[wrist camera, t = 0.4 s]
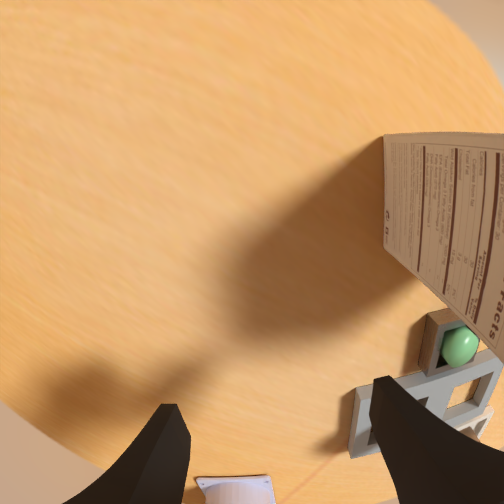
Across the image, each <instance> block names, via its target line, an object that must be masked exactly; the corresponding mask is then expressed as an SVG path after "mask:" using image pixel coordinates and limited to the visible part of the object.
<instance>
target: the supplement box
mask: <svg viewBox="0 0 504 504" xmlns="http://www.w3.org/2000/svg"><path fill="white" fill-rule="evenodd" d="M383 140H384V182H385V184H384V237H383V248H384V249H385V250H386V251H387V252H388V253H389V254H391V255H392V256H393V257H394V258H395V259H396V260H397V261H399V262H400V263H401V264H402V265H403V266H404V267H406V268H407V269H408V270H409V271H410V272H411V273H412V274H413V275H415V276H416V277H417V278H418V279H419V280H420V281H421V282H422V283H423V284H424V285H425V286H427V287H428V288H429V289H430V290H431V291H432V292H433V293H434V294H435V295H436V296H437V297H438V298H439V299H440V300H441V301H443V302H444V303H445V304H446V305H447V306H448V307H449V308H450V309H451V310H452V311H453V312H454V313H455V314H456V315H457V316H458V317H459V318H460V319H461V320H462V321H463V322H464V323H465V324H466V325H467V326H468V327H469V328H470V329H471V330H472V331H473V332H474V333H475V334H476V335H477V336H478V337H479V338H480V339H481V340H482V341H483V342H484V343H485V345H486V346H487V347H488V348H489V349H490V350H491V351H492V352H493V353H494V354H495V355H496V356H497V357H498V359H499V360H500V361H501V362H502V363H503V364H504V134H498V133H476V132H418V133H399V134H385V135H383Z"/></svg>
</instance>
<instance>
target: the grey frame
mask: <svg viewBox="0 0 504 504" xmlns="http://www.w3.org/2000/svg"><path fill="white" fill-rule="evenodd" d="M503 366H504V364H503V363H502V362H501V361H500V360H499V359H498V357H497V356H496V355H495V354H494V353H493V352H492V351H491V350H490V349H486V350H484V351H481V352H478V353H476V355H475V358H474V361H473V362H471V363H468V364H465V365H463V366H460V367H457V368H454V369H451V370H448V371H445V372H442V373H439V374H436V375H433V376H430V377H426V376H425V374H424V373H423V371H421V372H418V373H414V374H411V375H407V376H403V377H400V378H396V379H394V380H395V381H396V382H397V383H398V384H399V385H401V386H402V387H403V388H404V389H405V390H406V391H407V392H408V393H409V394H410V395H412V396H413V397H414V398H415V399H416V400H418V402H420V403H421V404H422V405H423V406H425V407H426V408H427V409H428V410H429V411H431V412H432V413H433V414H434V415H436V416H437V417H438V418H440V419H441V420H443V421H444V422H445V423H447V424H448V425H450V426H451V427H455V426H457V425H459V424H462V423H464V422H466V421H468V420H471V419H473V418H475V417H477V416H479V415H482V414H483V412H484V410H485V408H486V406H487V404H488V401H489V399H490V397H491V395H492V393H493V390H494V388H495V386H496V384H497V381H498V379H499V376H500V374H501V371H502V369H503ZM479 377H481V379H480V382H479V384H478V387H477V389H476V392H475V394H474V396H473V399H470V400H468V401H466V402H463V403H461V404H458V405H456V406H453V407H451V408H448V409H446V408H447V405H448V403H449V400H450V398H451V395H452V392H453V389H454V387H456V386H459V385H462V384H464V383H467V382H469V381H472V380H474V379H477V378H479ZM372 389H373V384H371V385H366V386H362V387H357V388H356V391H355V400H354V408H353V416H352V423H351V430H350V437H349V443H348V451H349V454H350V458H351V459H353V458H357V457H361V456H366V455H370V454H374V453H377V452H381V451H380V448H379V446H378V443H377V441H376V438H375V436H374V432H371V433H370V431H371V427H372V425H371V421H370V418H369V409H370V403H371V396H372Z"/></svg>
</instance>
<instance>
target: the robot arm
mask: <svg viewBox="0 0 504 504" xmlns="http://www.w3.org/2000/svg"><path fill="white" fill-rule="evenodd" d="M369 418H370V421H371V425H372V429H373V432H374V436H375V438H376V441H377V443H378V446H379V448H380V451H381V453H382V455H383V458H384V460H385V462H386V465H387V467H388V470H389V472H390V475H391V477H392V479H393V482H394V485H395V488H396V492H397V495H398V499H399V503H400V504H504V452H502V451H499V450H497V449H494V448H492V447H489V446H487V445H485V444H482V443H480V442H478V441H476V440H474V439H472V438H470V437H468V436H466V435H464V434H463V433H461V432H459V431H458V430H456V429H454V428H453V427H451V426H450V425H448V424H447V423H445V422H444V421H443V420H441V419H440V418H438V417H437V416H436V415H434V414H433V413H432V412H431V411H429V410H428V409H427V408H426V407H425V406H423V405H422V404H421V403H420V402H418V401H417V400H416V399H415V398H414V397H413V396H412V395H410V394H409V393H408V392H407V391H406V390H405V389H404V388H403V387H402V386H401V385H399V384H398V383H397V382H396V381H395V380H394V379H393V378H392V377H391V376H389V375H388V376H384V377H380V378H376V379H374V382H373V389H372V396H371V403H370V409H369ZM190 448H191V435H190V433H189V431H188V429H187V427H186V424H185V422H184V420H183V418H182V415H181V413H180V411H179V408H178V406H177V404H161V405H160V406H159V407H158V408H157V410H156V411H155V413H154V414H153V415H152V417H151V418H150V420H149V421H148V422H147V424H146V425H145V426H144V428H143V429H142V430H141V432H140V433H139V434H138V436H137V437H136V438H135V439H134V441H133V442H132V443H131V445H130V446H129V447H128V448H127V449H126V450H125V452H124V453H123V454H122V455H121V456H120V457H119V458H118V460H117V461H116V462H115V463H114V464H113V465H112V466H111V467H110V468H109V469H108V470H107V471H106V472H105V473H104V474H103V475H102V476H101V477H99V478H98V479H97V480H96V481H94V482H93V483H92V484H91V485H90V486H88V487H87V488H86V489H84V490H83V491H82V492H80V493H79V494H77V495H76V496H74V497H73V498H71V499H69V500H68V501H66V502H64V503H63V504H181V502H182V497H183V492H184V487H185V482H186V477H187V471H188V466H189V461H190ZM196 482H197V484H198V485H199V487H200V489H201V490H202V492H203V494H204V495H205V497H206V502H205V504H276V502H275V497H274V492H273V487H272V482H271V477H270V476H268V475H264V476H249V477H220V478H205V477H199V478H197V479H196Z"/></svg>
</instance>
